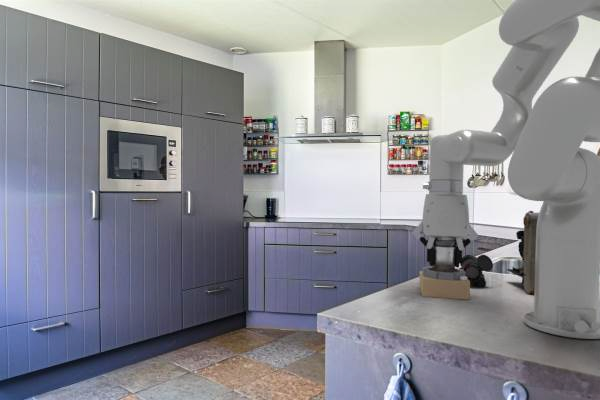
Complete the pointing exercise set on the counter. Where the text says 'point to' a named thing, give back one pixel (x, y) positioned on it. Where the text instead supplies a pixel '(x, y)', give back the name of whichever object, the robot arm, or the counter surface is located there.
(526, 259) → the vintage camera
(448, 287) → the mount
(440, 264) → the lens
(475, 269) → the night vision scope
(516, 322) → the counter surface
